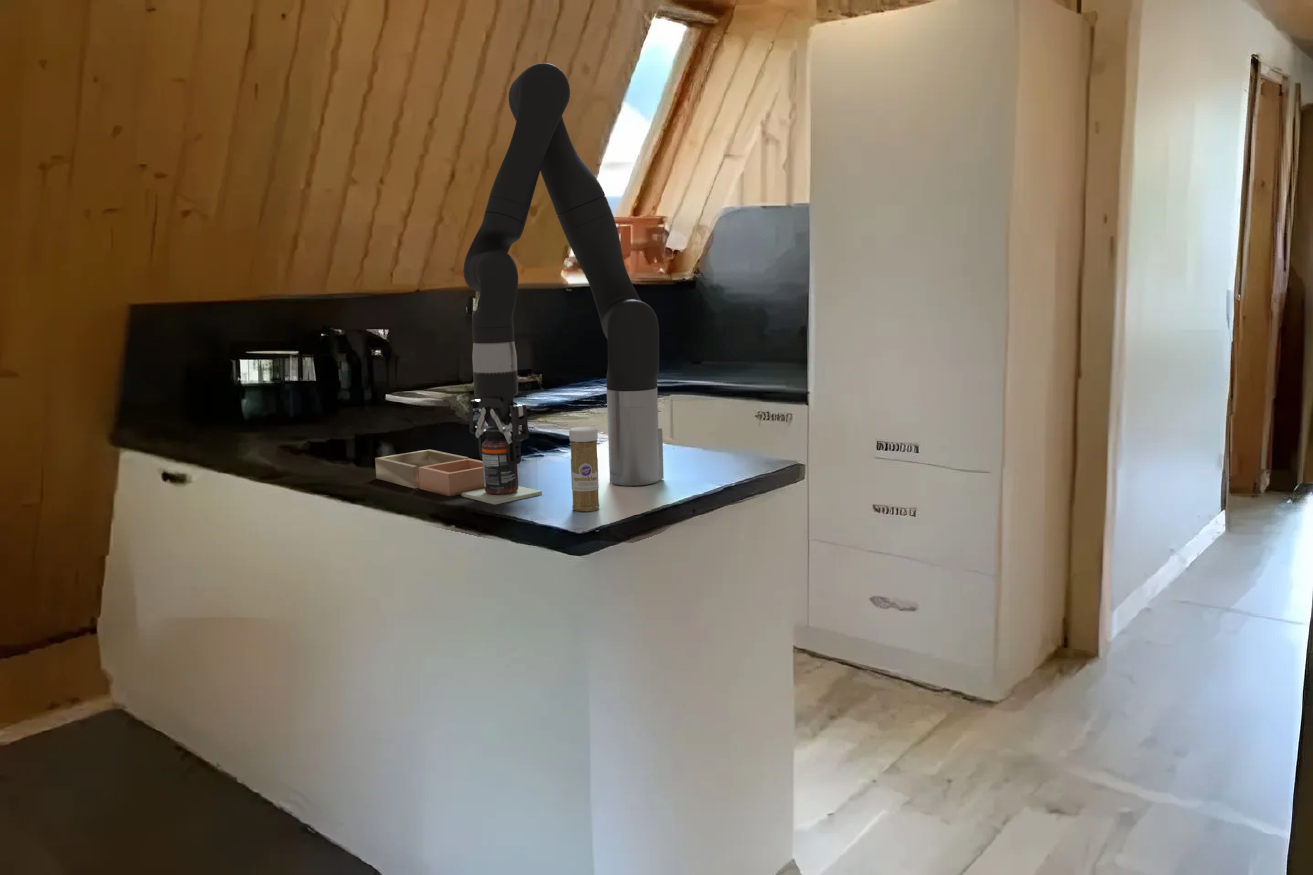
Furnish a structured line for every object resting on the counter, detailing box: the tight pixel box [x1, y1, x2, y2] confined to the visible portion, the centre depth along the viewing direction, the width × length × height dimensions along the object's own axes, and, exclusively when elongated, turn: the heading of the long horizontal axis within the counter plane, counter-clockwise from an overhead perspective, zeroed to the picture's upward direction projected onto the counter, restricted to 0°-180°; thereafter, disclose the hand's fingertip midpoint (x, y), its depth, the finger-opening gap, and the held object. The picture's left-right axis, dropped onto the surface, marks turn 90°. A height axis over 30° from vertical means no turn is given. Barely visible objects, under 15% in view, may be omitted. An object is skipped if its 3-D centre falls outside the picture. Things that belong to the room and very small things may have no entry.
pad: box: [460, 485, 543, 505], centre depth 179 cm, size 10×10×1 cm
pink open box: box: [418, 458, 485, 497], centre depth 186 cm, size 11×10×4 cm
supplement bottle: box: [481, 427, 519, 495], centre depth 178 cm, size 6×6×11 cm
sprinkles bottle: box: [568, 426, 600, 513], centre depth 166 cm, size 5×5×13 cm
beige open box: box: [374, 449, 469, 489], centre depth 195 cm, size 12×14×4 cm
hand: (499, 461), depth 178 cm, fingers open, 8 cm apart
